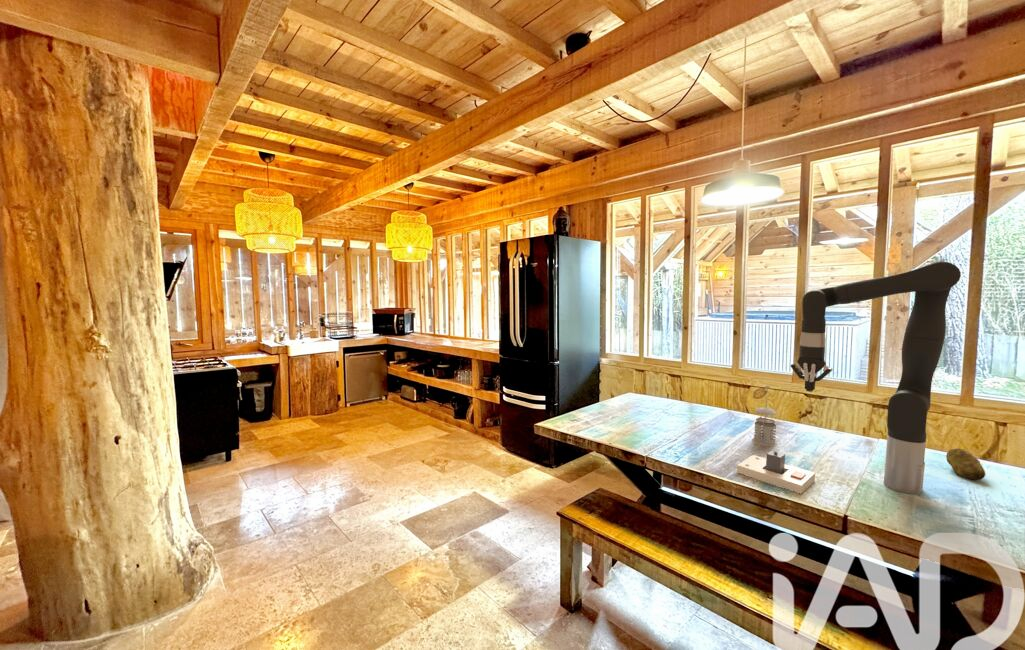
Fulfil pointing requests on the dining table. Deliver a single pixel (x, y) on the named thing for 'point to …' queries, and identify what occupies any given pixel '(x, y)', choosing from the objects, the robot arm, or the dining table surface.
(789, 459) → the dining table surface
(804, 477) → the socket plate
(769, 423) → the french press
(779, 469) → the plug
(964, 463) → the potato
